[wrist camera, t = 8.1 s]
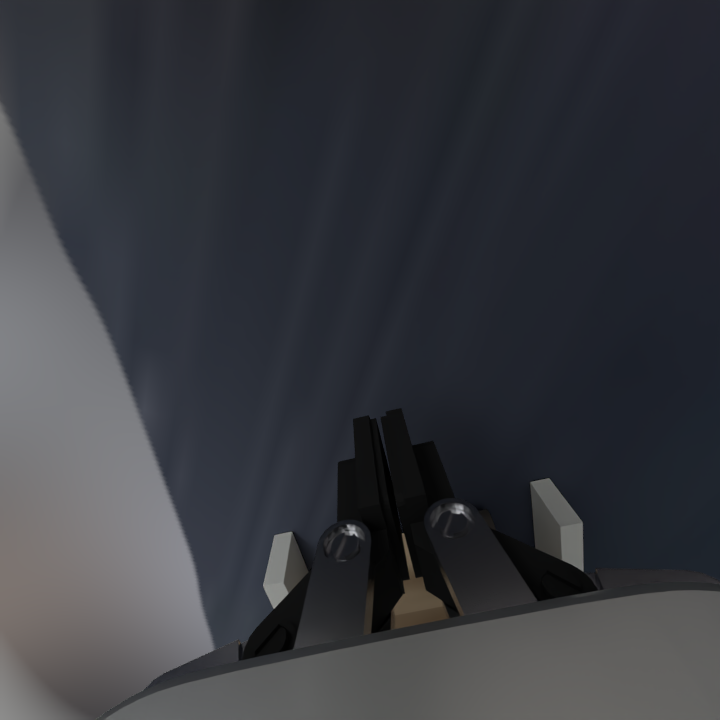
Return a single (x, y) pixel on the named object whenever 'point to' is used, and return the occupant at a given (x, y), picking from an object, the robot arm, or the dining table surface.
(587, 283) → the dining table surface
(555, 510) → the bay
